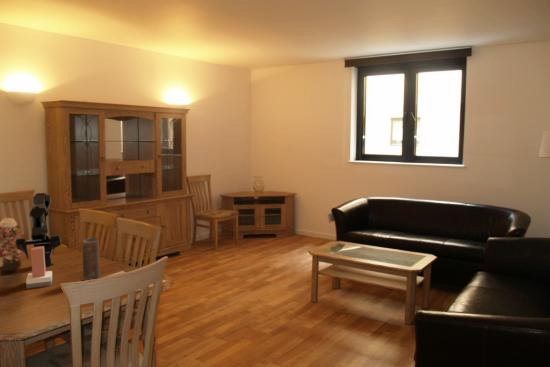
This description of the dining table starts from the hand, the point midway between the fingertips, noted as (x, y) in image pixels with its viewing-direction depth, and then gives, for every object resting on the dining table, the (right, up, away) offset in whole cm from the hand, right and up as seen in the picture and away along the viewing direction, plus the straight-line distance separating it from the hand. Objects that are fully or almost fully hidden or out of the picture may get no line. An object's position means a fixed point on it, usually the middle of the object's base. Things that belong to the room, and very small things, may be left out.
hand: (38, 257), depth 209 cm
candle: (+23, -12, +5) cm, 26 cm away
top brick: (+1, -8, 0) cm, 8 cm away
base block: (+1, -12, 0) cm, 12 cm away
